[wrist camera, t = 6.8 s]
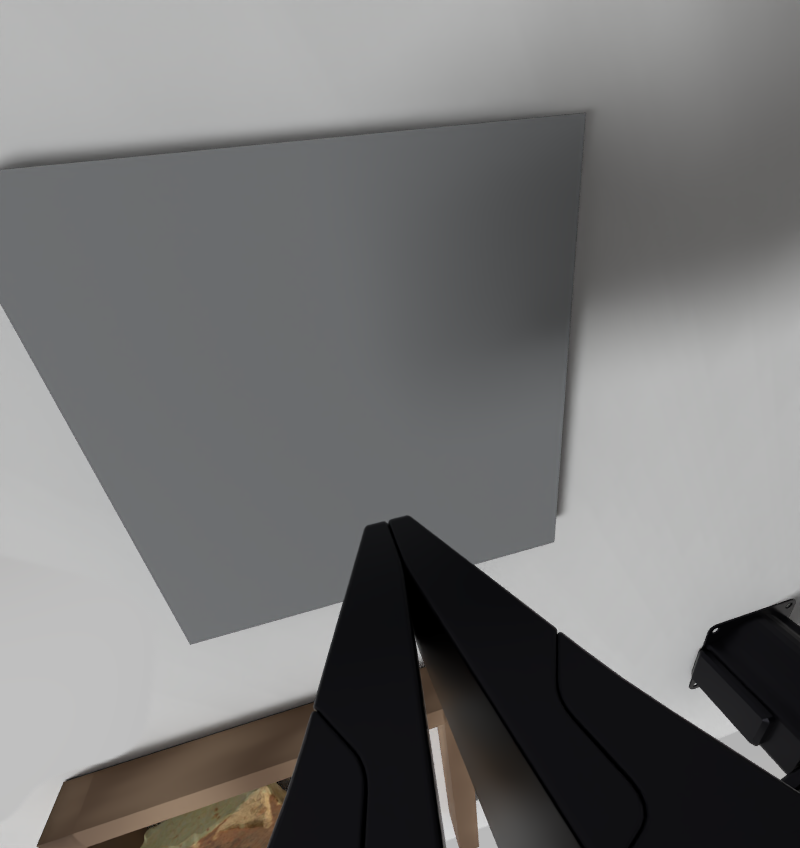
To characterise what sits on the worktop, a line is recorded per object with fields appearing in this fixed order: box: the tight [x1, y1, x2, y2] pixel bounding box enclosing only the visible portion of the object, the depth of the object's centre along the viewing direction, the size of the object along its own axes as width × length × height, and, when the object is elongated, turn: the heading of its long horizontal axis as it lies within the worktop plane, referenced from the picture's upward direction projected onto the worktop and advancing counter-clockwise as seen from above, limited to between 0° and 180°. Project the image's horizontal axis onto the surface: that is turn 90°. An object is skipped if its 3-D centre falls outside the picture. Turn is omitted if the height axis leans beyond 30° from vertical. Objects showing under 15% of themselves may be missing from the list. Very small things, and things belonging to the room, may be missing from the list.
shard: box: [140, 782, 287, 848], centre depth 20 cm, size 11×8×2 cm
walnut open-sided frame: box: [37, 667, 479, 848], centre depth 21 cm, size 17×16×2 cm
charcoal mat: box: [0, 113, 586, 645], centre depth 12 cm, size 14×14×1 cm
